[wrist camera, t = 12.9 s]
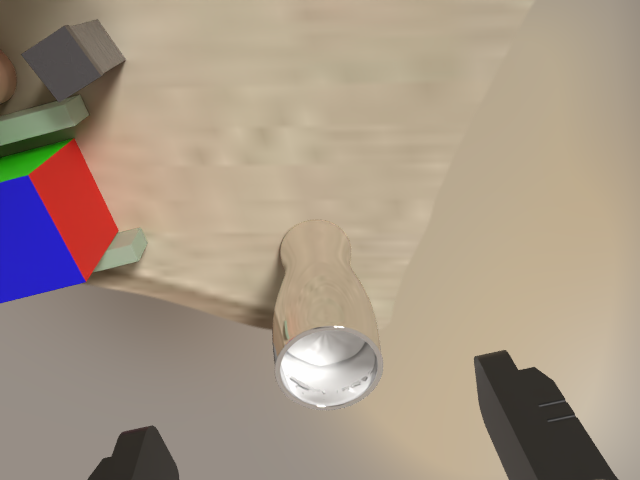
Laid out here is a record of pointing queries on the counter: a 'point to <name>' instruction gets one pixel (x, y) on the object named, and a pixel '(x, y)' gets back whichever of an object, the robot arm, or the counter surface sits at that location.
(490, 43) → the counter surface
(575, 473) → the robot arm
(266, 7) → the counter surface
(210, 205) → the counter surface
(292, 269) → the beer glass
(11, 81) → the tan rounded lump
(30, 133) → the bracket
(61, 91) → the spice tin
